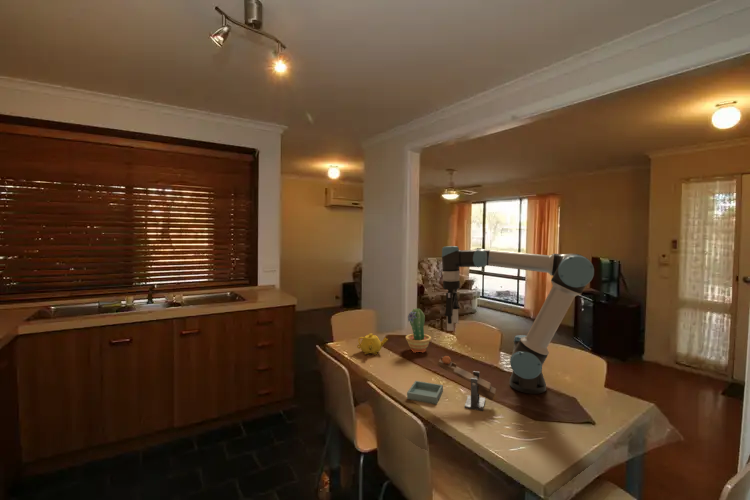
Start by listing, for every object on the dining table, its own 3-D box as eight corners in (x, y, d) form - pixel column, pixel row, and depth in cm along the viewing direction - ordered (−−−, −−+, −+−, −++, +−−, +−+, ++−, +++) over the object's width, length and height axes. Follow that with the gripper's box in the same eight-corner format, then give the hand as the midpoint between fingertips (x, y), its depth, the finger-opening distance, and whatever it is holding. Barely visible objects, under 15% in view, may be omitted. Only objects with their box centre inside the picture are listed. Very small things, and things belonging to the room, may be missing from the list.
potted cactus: (403, 346, 215) (403, 306, 213) (427, 345, 216) (427, 305, 215) (408, 355, 199) (408, 312, 198) (434, 354, 201) (434, 311, 200)
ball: (451, 363, 147) (451, 355, 147) (449, 366, 144) (450, 358, 144) (443, 361, 148) (443, 353, 148) (441, 364, 145) (441, 356, 145)
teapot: (370, 358, 195) (370, 339, 194) (354, 352, 204) (354, 334, 204) (388, 352, 205) (388, 333, 204) (372, 347, 214) (372, 329, 214)
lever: (493, 394, 142) (497, 383, 141) (492, 400, 137) (496, 389, 136) (437, 366, 151) (441, 356, 150) (434, 371, 145) (438, 360, 144)
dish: (442, 391, 154) (442, 385, 154) (436, 404, 142) (436, 397, 142) (415, 386, 159) (415, 380, 159) (407, 398, 147) (407, 392, 147)
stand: (485, 399, 146) (485, 371, 145) (482, 411, 136) (482, 381, 136) (468, 396, 148) (468, 369, 148) (464, 407, 139) (464, 378, 138)
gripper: (448, 276, 170) (449, 319, 171) (437, 283, 147) (439, 333, 148) (463, 276, 167) (465, 320, 168) (455, 284, 144) (456, 334, 145)
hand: (453, 326), depth 158 cm, fingers open, 13 cm apart
